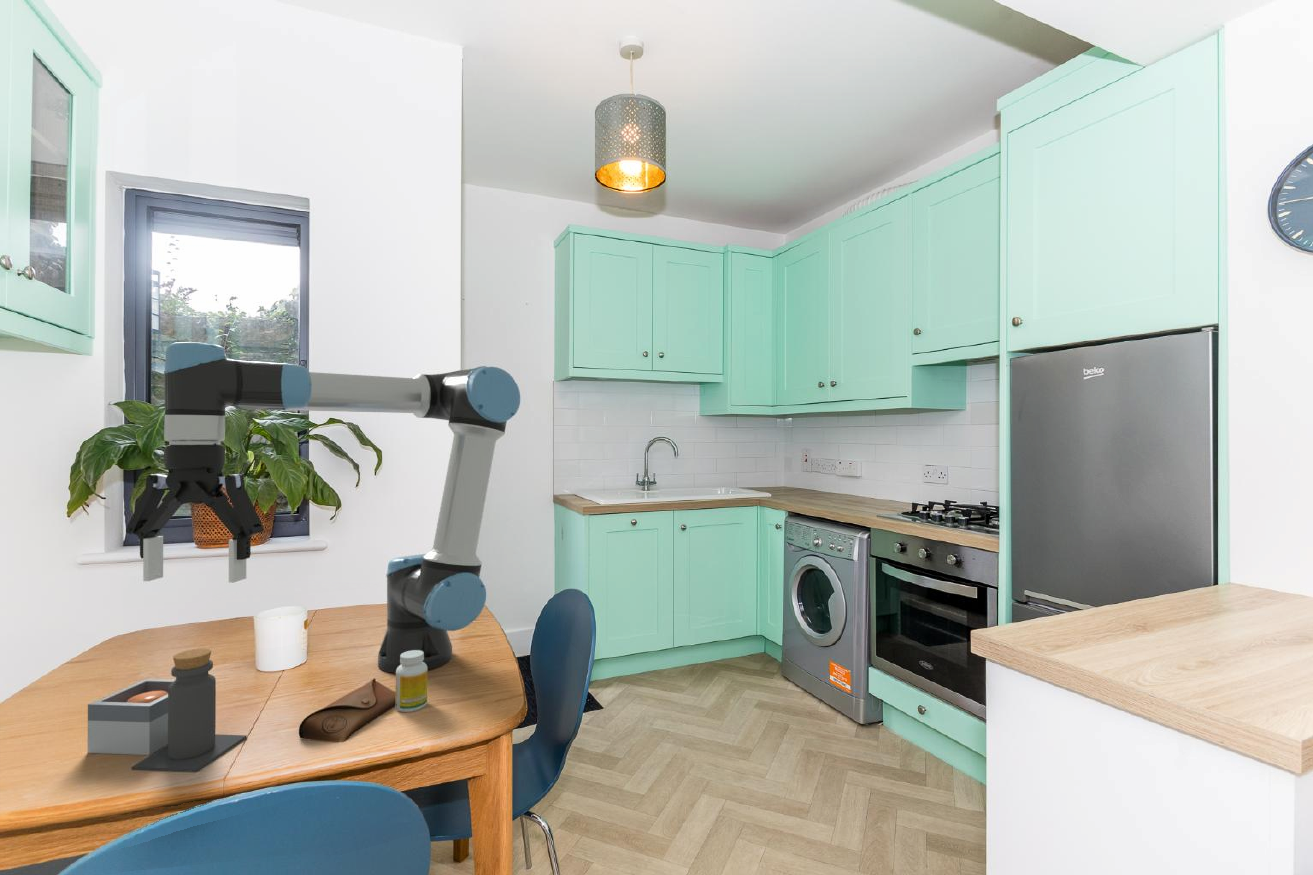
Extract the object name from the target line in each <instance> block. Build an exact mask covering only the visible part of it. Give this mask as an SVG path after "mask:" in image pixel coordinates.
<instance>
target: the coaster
mask: <svg viewBox="0 0 1313 875" xmlns="http://www.w3.org/2000/svg"><path fill="white" fill-rule="evenodd" d="M247 738H248V736H247V734H246V735H243V734H218V733H217V734H216V733H215V746H214V747H213V748H212V749H211V750H210V751H208V752H206V753H204V754H202V755H199V756H196V757H193V758H189V759H181V760H175V759H170V758H169V757H168V745H166V746H164V747H162V748H160V749H159V750H157V751H155V752H154V753H152V754H150V755H148V756H147V757H146V758H144V759H143V760H141V761H139V762H137V763H135V764H134V765H132V766H131V770H132V771H133V770H137V771H158V772H159V771H165V772H190V773H191V772H193V773H196V772H199V771H200V770H202V769H204V768H205V767H207V766H208V765H209V764H210V763H212V762H214V761H215V760H216V759H218V758H220V757H221V756H222V755H224V754H225V753H227V752H228V751H229V750H232V748H234V747H236V746H238V744H240V743H241V742H243V741H245V740H246V739H247Z"/></svg>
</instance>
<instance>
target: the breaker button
mask: <svg viewBox="0 0 1313 875" xmlns="http://www.w3.org/2000/svg"><path fill="white" fill-rule="evenodd" d="M165 695H167V692H166V691H151V692H146V693H142V694H139V695H136V696H134V697H131V698H130V699H128V701H127V703H151V702H153V701H155V700H157V699H159V698H161V697H163V696H165Z"/></svg>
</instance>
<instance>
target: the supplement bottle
mask: <svg viewBox="0 0 1313 875" xmlns="http://www.w3.org/2000/svg"><path fill="white" fill-rule="evenodd" d="M423 659H424V652H423V651H420V650H412V651H407V652H404V653H402V654H401V655H400V663H401V665H400V666H398V668H397V669H396V673H395V692H396V695H395V706H394V707H395V709H396V710H397V711H398V712H401V713H412V712H417V711H419V710H421V709H423V708H425V707H426V705H427V703H428V670H427V665H426V664H425V663H424V662H422V661H423Z"/></svg>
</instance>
